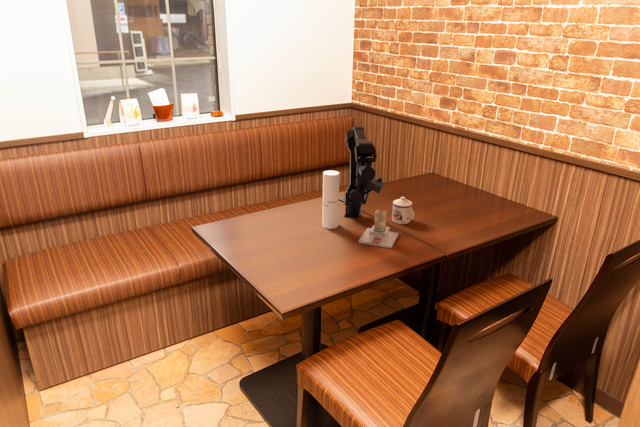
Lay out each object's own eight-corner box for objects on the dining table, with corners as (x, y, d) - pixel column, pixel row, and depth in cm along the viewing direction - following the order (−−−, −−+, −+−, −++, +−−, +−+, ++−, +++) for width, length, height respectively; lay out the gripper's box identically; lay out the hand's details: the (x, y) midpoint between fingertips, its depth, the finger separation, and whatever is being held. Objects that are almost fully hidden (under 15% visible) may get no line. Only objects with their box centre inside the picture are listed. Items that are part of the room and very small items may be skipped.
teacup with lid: (387, 219, 217) (388, 196, 213) (401, 215, 222) (403, 192, 217) (405, 228, 208) (407, 204, 204) (419, 223, 213) (422, 200, 208)
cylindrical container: (336, 229, 206) (338, 175, 196) (320, 227, 207) (321, 174, 198) (339, 223, 213) (340, 170, 203) (323, 221, 214) (324, 169, 204)
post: (373, 230, 195) (374, 212, 192) (376, 226, 199) (377, 209, 196) (383, 231, 194) (384, 214, 191) (385, 228, 197) (386, 210, 194)
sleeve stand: (358, 242, 194) (359, 233, 192) (367, 229, 206) (368, 220, 205) (391, 248, 190) (392, 238, 188) (398, 234, 202) (399, 225, 200)
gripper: (377, 182, 179) (374, 219, 185) (387, 168, 195) (385, 202, 201) (349, 178, 182) (348, 215, 189) (362, 165, 199) (360, 199, 205)
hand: (361, 208), depth 196 cm, fingers open, 9 cm apart
